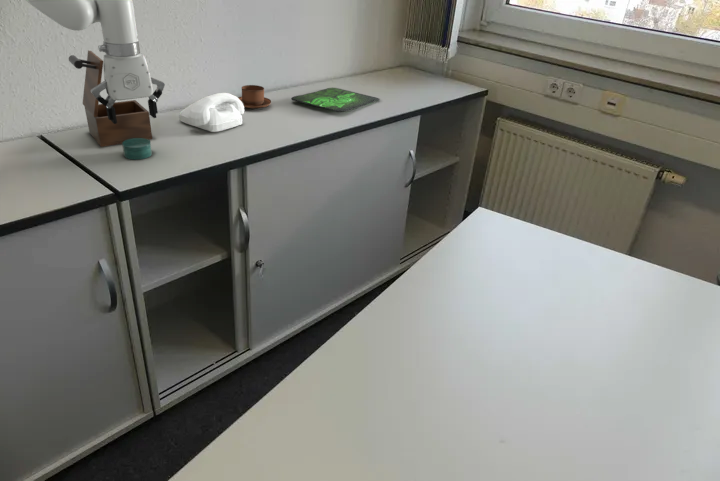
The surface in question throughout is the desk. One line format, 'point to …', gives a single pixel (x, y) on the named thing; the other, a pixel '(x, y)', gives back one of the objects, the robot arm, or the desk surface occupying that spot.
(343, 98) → the mouse mat
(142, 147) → the teal short cylinder
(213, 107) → the telephone
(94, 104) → the lid
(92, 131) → the box
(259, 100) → the cup and saucer
